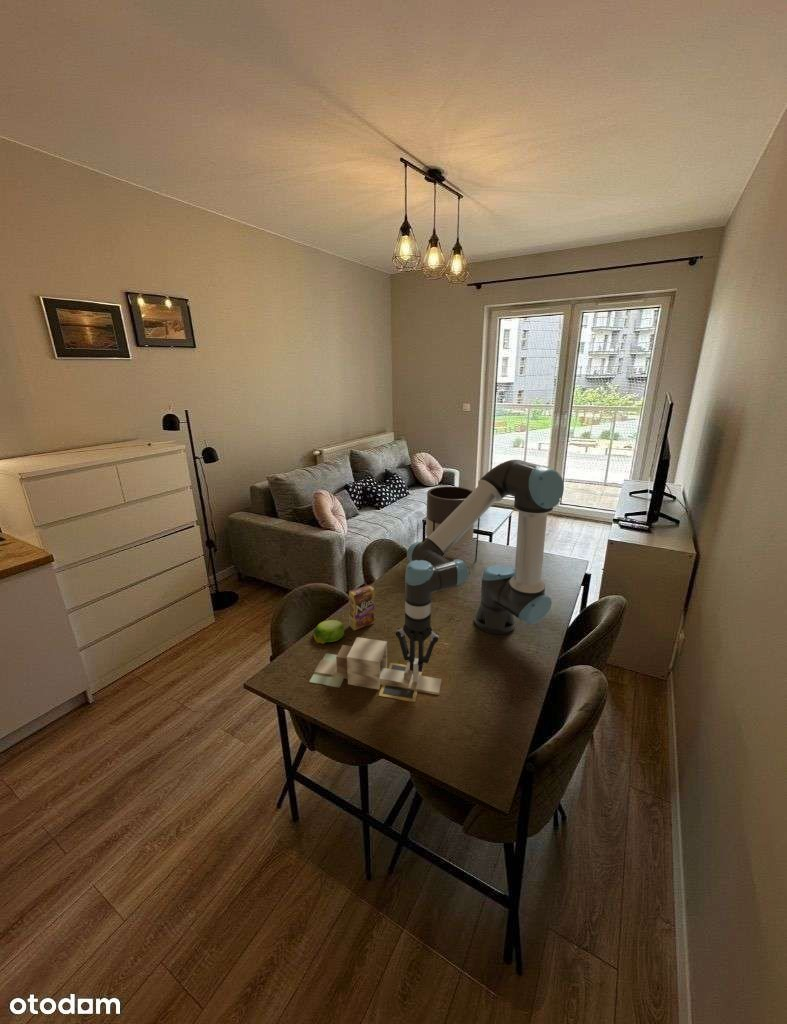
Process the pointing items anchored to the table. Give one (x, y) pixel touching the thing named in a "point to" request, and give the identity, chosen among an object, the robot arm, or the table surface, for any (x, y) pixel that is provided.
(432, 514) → the planter
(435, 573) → the robot arm
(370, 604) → the candy box
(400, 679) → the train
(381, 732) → the table surface
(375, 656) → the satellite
